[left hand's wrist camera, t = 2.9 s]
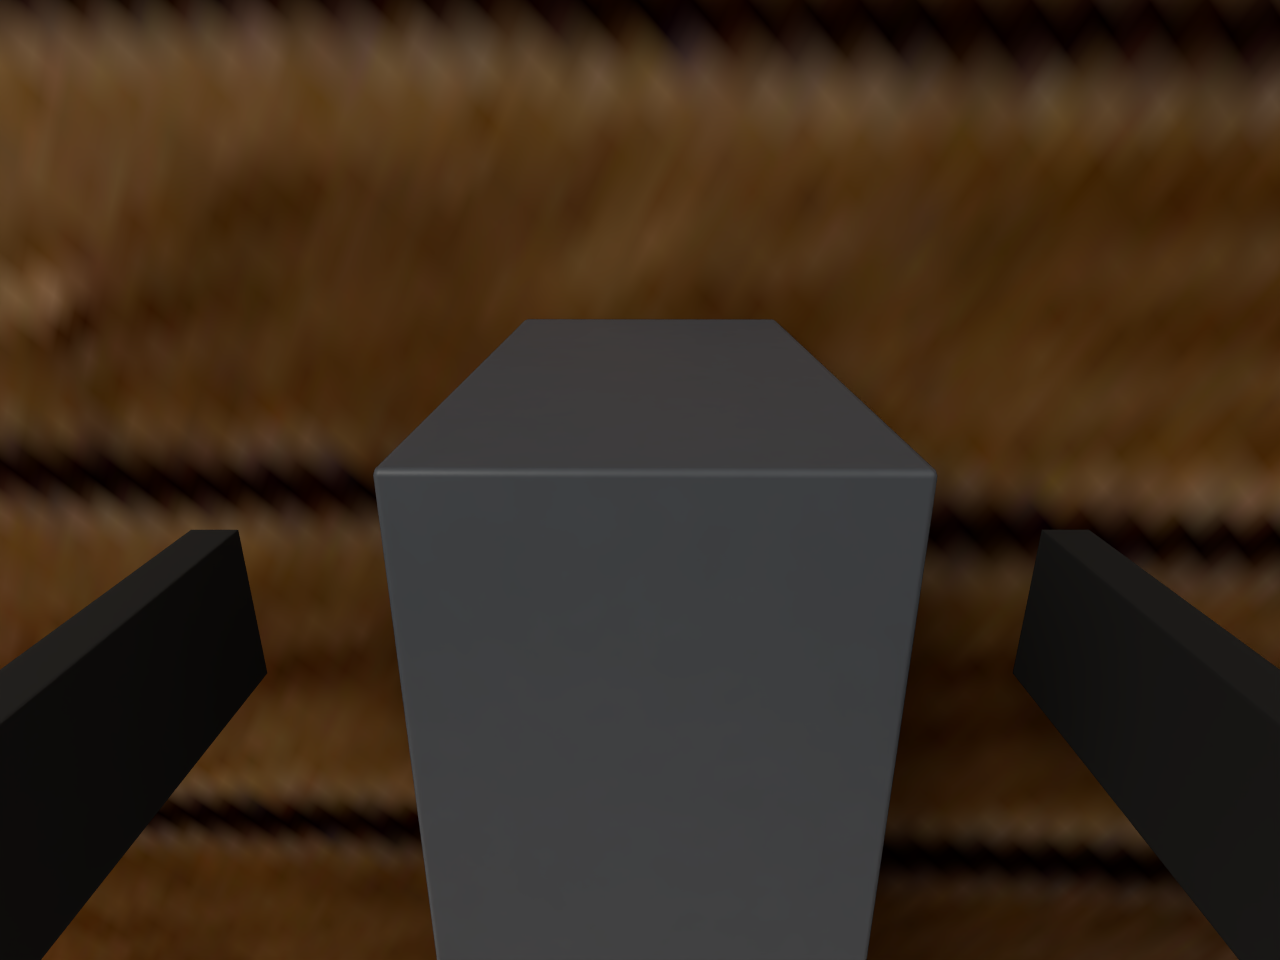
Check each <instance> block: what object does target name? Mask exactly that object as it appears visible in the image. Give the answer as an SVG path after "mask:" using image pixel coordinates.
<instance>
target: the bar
mask: <svg viewBox="0 0 1280 960" xmlns="http://www.w3.org/2000/svg"><path fill="white" fill-rule="evenodd" d="M373 475H374V483H375V491H376V498H377V506H378V514H379V521H380V529H381V536H382V544H383V552H384V559H385V567H386V574H387V582H388V590H389V597H390V605H391V612H392V620H393V628H394V635H395V643H396V651H397V658H398V666H399V673H400V681H401V689H402V696H403V704H404V711H405V719H406V727H407V734H408V742H409V750H410V757H411V765H412V772H413V780H414V788H415V795H416V803H417V810H418V818H419V826H420V833H421V841H422V848H423V856H424V864H425V871H426V879H427V887H428V894H429V902H430V909H431V917H432V925H433V932H434V940H435V947H436V955H437V960H866V959H867V952H868V946H869V939H870V932H871V925H872V918H873V911H874V905H875V898H876V891H877V884H878V877H879V870H880V864H881V857H882V850H883V843H884V836H885V830H886V823H887V816H888V809H889V802H890V795H891V789H892V782H893V775H894V768H895V761H896V754H897V748H898V741H899V734H900V727H901V720H902V713H903V707H904V700H905V693H906V686H907V679H908V672H909V666H910V659H911V652H912V645H913V638H914V631H915V625H916V618H917V611H918V604H919V597H920V591H921V584H922V577H923V570H924V563H925V556H926V550H927V543H928V536H929V529H930V522H931V515H932V509H933V502H934V495H935V488H936V481H937V474H936V470H935V469H934V468H933V467H931V466H930V465H929V464H928V463H927V462H926V461H925V460H924V459H923V458H922V457H921V456H920V455H919V454H918V453H916V452H915V451H914V450H913V449H912V448H911V447H910V446H909V445H908V444H907V443H906V442H905V441H904V440H902V439H901V438H900V437H899V436H898V435H897V434H896V433H895V432H894V431H893V430H892V429H891V428H890V427H889V426H887V425H886V424H885V423H884V422H883V421H882V420H881V419H880V418H879V417H878V416H877V415H876V414H875V413H874V412H872V411H871V410H870V409H869V408H868V407H867V406H866V405H865V404H864V403H863V402H862V401H861V400H860V399H858V398H857V397H856V396H855V395H854V394H853V393H852V392H851V391H850V390H849V389H848V388H847V387H846V386H845V385H843V384H842V383H841V382H840V381H839V380H838V379H837V378H836V377H835V376H834V375H833V374H832V373H831V372H830V371H828V370H827V369H826V368H825V367H824V366H823V365H822V364H821V363H820V362H819V361H818V360H817V359H816V358H814V357H813V356H812V355H811V354H810V353H809V352H808V351H807V350H806V349H805V348H804V347H803V346H802V345H801V344H799V343H798V342H797V341H796V340H795V339H794V338H793V337H792V336H791V335H790V334H789V333H788V332H787V331H785V330H784V329H783V328H782V327H781V326H780V325H779V324H778V323H777V322H776V321H774V320H592V319H528V320H525V321H524V322H523V323H522V324H521V325H520V326H519V327H518V328H517V329H516V330H515V331H514V332H513V333H512V334H511V335H510V336H509V337H508V338H507V339H506V340H505V341H504V342H503V343H502V344H501V345H500V346H499V347H498V348H497V349H496V350H495V351H494V352H493V353H492V354H491V355H490V356H489V357H488V358H487V359H486V360H485V361H484V362H483V363H482V364H481V365H480V366H479V367H478V368H477V369H476V370H475V371H474V372H473V373H472V374H471V375H470V376H469V377H468V378H467V379H466V380H465V381H463V382H462V383H461V384H460V385H459V386H458V387H457V388H456V389H455V390H454V391H453V392H452V393H451V394H450V395H449V396H448V397H447V398H446V399H445V400H444V401H443V402H442V403H441V404H440V405H439V406H438V407H437V408H436V409H435V410H434V411H433V412H432V413H431V414H430V415H429V416H428V417H427V418H426V419H425V420H424V421H423V422H422V423H421V424H420V425H419V426H418V427H417V428H416V429H415V430H414V431H413V432H412V433H411V434H410V435H409V436H408V437H407V438H406V439H405V440H404V441H403V442H402V443H401V444H400V445H399V446H398V447H397V448H396V449H395V450H394V451H393V452H392V453H391V454H390V455H389V456H388V457H387V458H386V459H385V460H384V461H383V462H382V463H381V464H380V465H379V466H378V467H377V468H376V469H375V471H374V474H373Z"/></svg>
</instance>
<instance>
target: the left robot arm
mask: <svg viewBox="0 0 1280 960" xmlns="http://www.w3.org/2000/svg"><path fill="white" fill-rule="evenodd" d="M266 674H267V670H266V665H265V660H264V655H263V650H262V645H261V640H260V635H259V630H258V625H257V620H256V615H255V611H254V606H253V601H252V596H251V591H250V586H249V581H248V576H247V571H246V566H245V561H244V556H243V551H242V547H241V542H240V537H239V532H238V530H190V531H189V532H188V533H186V534H185V535H184V536H182V537H181V538H179V539H178V540H177V541H175V542H174V543H173V544H171V545H170V546H169V547H167V548H166V549H164V550H163V551H162V552H160V553H159V554H158V555H156V556H155V557H154V558H152V559H151V560H149V561H148V562H147V563H145V564H144V565H143V566H141V567H140V568H139V569H137V570H136V571H134V572H133V573H132V574H130V575H129V576H128V577H126V578H125V579H124V580H122V581H121V582H119V583H118V584H117V585H115V586H114V587H113V588H111V589H110V590H108V591H107V592H106V593H104V594H103V595H102V596H100V597H99V598H98V599H96V600H95V601H93V602H92V603H91V604H89V605H88V606H87V607H85V608H84V609H83V610H81V611H80V612H78V613H77V614H76V615H74V616H73V617H72V618H70V619H69V620H68V621H66V622H65V623H63V624H62V625H61V626H59V627H58V628H57V629H55V630H54V631H53V632H51V633H50V634H48V635H47V636H46V637H44V638H43V639H42V640H40V641H39V642H38V643H36V644H35V645H33V646H32V647H31V648H29V649H28V650H27V651H25V652H24V653H23V654H21V655H20V656H18V657H17V658H16V659H14V660H13V661H12V662H10V663H9V664H8V665H6V666H5V667H3V668H2V669H1V670H0V960H41V959H42V958H43V956H44V955H45V954H46V953H47V951H48V950H49V949H50V948H51V946H52V945H53V944H54V943H55V941H56V940H57V939H58V937H59V936H60V935H61V934H62V932H63V931H64V930H65V929H66V927H67V926H68V925H69V924H70V922H71V921H72V920H73V918H74V917H75V916H76V915H77V913H78V912H79V911H80V910H81V908H82V907H83V906H84V905H85V903H86V902H87V901H88V899H89V898H90V897H91V896H92V894H93V893H94V892H95V891H96V889H97V888H98V887H99V886H100V884H101V883H102V882H103V880H104V879H105V878H106V877H107V875H108V874H109V873H110V872H111V870H112V869H113V868H114V867H115V865H116V864H117V863H118V861H119V860H120V859H121V858H122V856H123V855H124V854H125V853H126V851H127V850H128V849H129V848H130V846H131V845H132V844H133V842H134V841H135V840H136V839H137V837H138V836H139V835H140V834H141V832H142V831H143V830H144V829H145V827H146V826H147V825H148V823H149V822H150V821H151V820H152V818H153V817H154V816H155V815H156V813H157V812H158V811H159V810H160V808H161V807H162V806H163V804H164V803H165V802H166V801H167V799H168V798H169V797H170V796H171V794H172V793H173V792H174V791H175V789H176V788H177V787H178V785H179V784H180V783H181V782H182V780H183V779H184V778H185V777H186V775H187V774H188V773H189V772H190V770H191V769H192V768H193V766H194V765H195V764H196V763H197V761H198V760H199V759H200V758H201V756H202V755H203V754H204V753H205V751H206V750H207V749H208V747H209V746H210V745H211V744H212V742H213V741H214V740H215V739H216V737H217V736H218V735H219V734H220V732H221V731H222V730H223V728H224V727H225V726H226V725H227V723H228V722H229V721H230V720H231V718H232V717H233V716H234V715H235V713H236V712H237V711H238V709H239V708H240V707H241V706H242V704H243V703H244V702H245V701H246V699H247V698H248V697H249V696H250V694H251V693H252V692H253V691H254V689H255V688H256V687H257V685H258V684H259V683H260V682H261V680H262V679H263V678H264V677H265V675H266ZM1013 674H1014V675H1015V677H1016V678H1017V679H1018V680H1019V682H1020V683H1021V684H1022V685H1023V687H1024V688H1025V689H1026V691H1027V692H1028V693H1029V694H1030V696H1031V697H1032V698H1033V699H1034V701H1035V702H1036V703H1037V704H1038V706H1039V707H1040V708H1041V710H1042V711H1043V712H1044V713H1045V715H1046V716H1047V717H1048V718H1049V720H1050V721H1051V722H1052V723H1053V725H1054V726H1055V727H1056V728H1057V730H1058V731H1059V732H1060V734H1061V735H1062V736H1063V737H1064V739H1065V740H1066V741H1067V742H1068V744H1069V745H1070V746H1071V747H1072V749H1073V750H1074V751H1075V753H1076V754H1077V755H1078V756H1079V758H1080V759H1081V760H1082V761H1083V763H1084V764H1085V765H1086V766H1087V768H1088V769H1089V770H1090V772H1091V773H1092V774H1093V775H1094V777H1095V778H1096V779H1097V780H1098V782H1099V783H1100V784H1101V785H1102V787H1103V788H1104V789H1105V791H1106V792H1107V793H1108V794H1109V796H1110V797H1111V798H1112V799H1113V801H1114V802H1115V803H1116V804H1117V806H1118V807H1119V808H1120V810H1121V811H1122V812H1123V813H1124V815H1125V816H1126V817H1127V818H1128V820H1129V821H1130V822H1131V823H1132V825H1133V826H1134V827H1135V829H1136V830H1137V831H1138V832H1139V834H1140V835H1141V836H1142V837H1143V839H1144V840H1145V841H1146V842H1147V844H1148V845H1149V846H1150V848H1151V849H1152V850H1153V851H1154V853H1155V854H1156V855H1157V856H1158V858H1159V859H1160V860H1161V861H1162V863H1163V864H1164V865H1165V867H1166V868H1167V869H1168V870H1169V872H1170V873H1171V874H1172V875H1173V877H1174V878H1175V879H1176V880H1177V882H1178V883H1179V884H1180V886H1181V887H1182V888H1183V889H1184V891H1185V892H1186V893H1187V894H1188V896H1189V897H1190V898H1191V899H1192V901H1193V902H1194V903H1195V905H1196V906H1197V907H1198V908H1199V910H1200V911H1201V912H1202V913H1203V915H1204V916H1205V917H1206V918H1207V920H1208V921H1209V922H1210V924H1211V925H1212V926H1213V927H1214V929H1215V930H1216V931H1217V932H1218V934H1219V935H1220V936H1221V937H1222V939H1223V940H1224V941H1225V943H1226V944H1227V945H1228V946H1229V948H1230V949H1231V950H1232V951H1233V953H1234V954H1235V955H1236V956H1237V958H1238V959H1239V960H1280V670H1279V669H1278V668H1277V667H1275V666H1274V665H1272V664H1271V663H1270V662H1268V661H1267V660H1266V659H1264V658H1263V657H1262V656H1260V655H1259V654H1257V653H1256V652H1255V651H1253V650H1252V649H1251V648H1249V647H1248V646H1247V645H1245V644H1244V643H1242V642H1241V641H1240V640H1238V639H1237V638H1236V637H1234V636H1233V635H1232V634H1230V633H1229V632H1227V631H1226V630H1225V629H1223V628H1222V627H1221V626H1219V625H1218V624H1217V623H1215V622H1214V621H1212V620H1211V619H1210V618H1208V617H1207V616H1206V615H1204V614H1203V613H1202V612H1200V611H1199V610H1197V609H1196V608H1195V607H1193V606H1192V605H1191V604H1189V603H1188V602H1187V601H1185V600H1184V599H1182V598H1181V597H1180V596H1178V595H1177V594H1176V593H1174V592H1173V591H1172V590H1170V589H1169V588H1167V587H1166V586H1165V585H1163V584H1162V583H1161V582H1159V581H1158V580H1156V579H1155V578H1154V577H1152V576H1151V575H1150V574H1148V573H1147V572H1146V571H1144V570H1143V569H1141V568H1140V567H1139V566H1137V565H1136V564H1135V563H1133V562H1132V561H1131V560H1129V559H1128V558H1126V557H1125V556H1124V555H1122V554H1121V553H1120V552H1118V551H1117V550H1116V549H1114V548H1113V547H1111V546H1110V545H1109V544H1107V543H1106V542H1105V541H1103V540H1102V539H1101V538H1099V537H1098V536H1096V535H1095V534H1094V533H1092V532H1091V531H1090V530H1042V532H1041V537H1040V542H1039V547H1038V551H1037V556H1036V561H1035V566H1034V571H1033V576H1032V581H1031V586H1030V591H1029V596H1028V601H1027V606H1026V610H1025V615H1024V620H1023V625H1022V630H1021V635H1020V640H1019V645H1018V650H1017V655H1016V660H1015V665H1014V670H1013Z"/></svg>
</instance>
